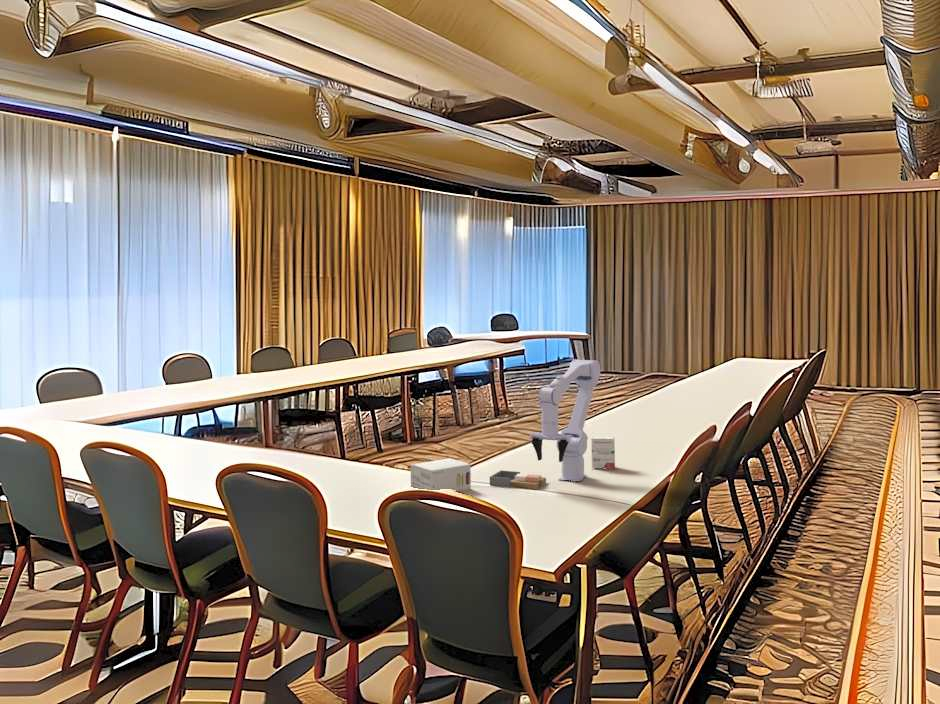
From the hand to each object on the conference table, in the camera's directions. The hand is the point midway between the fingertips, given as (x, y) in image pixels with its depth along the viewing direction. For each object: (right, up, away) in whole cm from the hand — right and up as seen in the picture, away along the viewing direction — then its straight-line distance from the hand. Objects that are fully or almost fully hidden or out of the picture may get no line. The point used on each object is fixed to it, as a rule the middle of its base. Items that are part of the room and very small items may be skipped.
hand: (550, 460), depth 296 cm
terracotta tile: (-5, -7, +3) cm, 10 cm away
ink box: (+23, -7, +29) cm, 38 cm away
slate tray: (-15, -9, +8) cm, 20 cm away
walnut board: (-7, -9, +5) cm, 13 cm away
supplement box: (-38, -11, 0) cm, 39 cm away
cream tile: (-10, -7, +5) cm, 13 cm away
